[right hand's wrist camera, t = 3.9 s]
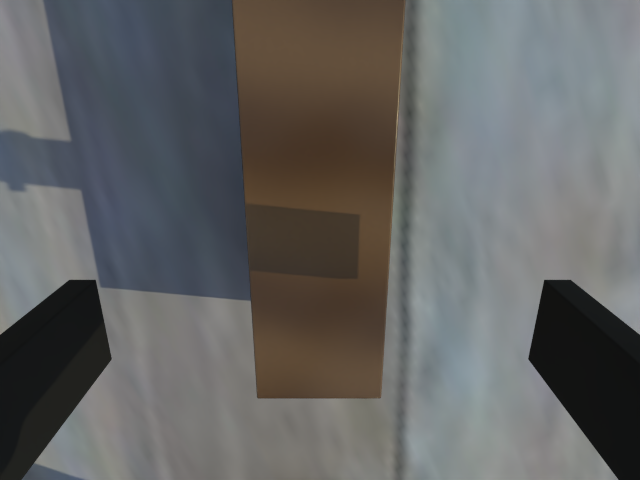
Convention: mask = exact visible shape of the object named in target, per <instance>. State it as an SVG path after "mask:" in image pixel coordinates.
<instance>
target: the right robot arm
mask: <svg viewBox="0 0 640 480" xmlns="http://www.w3.org/2000/svg"><path fill="white" fill-rule="evenodd" d="M111 359H112V358H111V353H110V348H109V343H108V339H107V334H106V329H105V324H104V319H103V314H102V309H101V304H100V299H99V294H98V289H97V284H96V280H69V281H68V282H66V283H65V284H64V285H62V286H61V287H60V288H59V289H57V290H56V291H55V292H54V293H52V294H51V295H50V296H49V297H47V298H46V299H45V300H44V301H42V302H41V303H40V304H39V305H37V306H36V307H35V308H33V309H32V310H31V311H30V312H28V313H27V314H26V315H25V316H23V317H22V318H21V319H20V320H18V321H17V322H16V323H15V324H13V325H12V326H11V327H10V328H8V329H7V330H6V331H5V332H3V333H2V334H1V335H0V480H22V478H23V477H24V476H25V474H26V473H27V471H28V470H29V469H30V467H31V466H32V465H33V463H34V462H35V461H36V459H37V458H38V457H39V455H40V454H41V453H42V451H43V450H44V449H45V447H46V446H47V445H48V443H49V442H50V441H51V439H52V438H53V437H54V435H55V434H56V433H57V431H58V430H59V429H60V427H61V426H62V425H63V423H64V422H65V421H66V419H67V418H68V417H69V415H70V414H71V413H72V411H73V410H74V409H75V407H76V406H77V405H78V403H79V402H80V401H81V399H82V398H83V397H84V395H85V394H86V393H87V391H88V390H89V389H90V387H91V386H92V385H93V383H94V382H95V381H96V379H97V378H98V377H99V375H100V374H101V373H102V371H103V370H104V369H105V367H106V366H107V365H108V363H109V362H110V361H111ZM528 359H529V361H530V362H531V363H532V365H533V366H534V367H535V369H536V370H537V371H538V373H539V374H540V375H541V377H542V378H543V379H544V381H545V382H546V383H547V385H548V386H549V387H550V389H551V390H552V391H553V393H554V394H555V395H556V397H557V398H558V399H559V401H560V402H561V403H562V405H563V406H564V407H565V409H566V410H567V411H568V413H569V414H570V415H571V417H572V418H573V419H574V421H575V422H576V423H577V425H578V426H579V427H580V429H581V430H582V431H583V433H584V434H585V435H586V437H587V438H588V439H589V441H590V442H591V443H592V445H593V446H594V447H595V449H596V450H597V451H598V453H599V454H600V455H601V457H602V458H603V459H604V461H605V462H606V463H607V465H608V466H609V467H610V469H611V470H612V471H613V473H614V474H615V476H616V477H617V478H618V480H640V335H639V334H638V333H637V332H635V331H634V330H633V329H632V328H630V327H629V326H628V325H627V324H625V323H624V322H623V321H622V320H620V319H619V318H618V317H617V316H615V315H614V314H613V313H612V312H610V311H609V310H608V309H607V308H605V307H604V306H603V305H601V304H600V303H599V302H598V301H596V300H595V299H594V298H593V297H591V296H590V295H589V294H588V293H586V292H585V291H584V290H583V289H581V288H580V287H579V286H578V285H576V284H575V283H574V282H572V281H571V280H544V284H543V289H542V294H541V299H540V304H539V309H538V314H537V319H536V324H535V329H534V334H533V339H532V343H531V348H530V353H529V358H528Z"/></svg>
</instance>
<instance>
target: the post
mask: <svg viewBox="0 0 640 480" xmlns="http://www.w3.org/2000/svg"><path fill="white" fill-rule="evenodd" d="M405 1H406V0H232V10H233V26H234V41H235V57H236V73H237V89H238V104H239V120H240V136H241V151H242V167H243V183H244V199H245V214H246V230H247V246H248V261H249V277H250V293H251V309H252V324H253V340H254V356H255V372H256V387H257V398H381V390H382V373H383V357H384V341H385V325H386V309H387V292H388V276H389V260H390V244H391V228H392V211H393V195H394V179H395V163H396V147H397V130H398V114H399V98H400V82H401V66H402V49H403V33H404V17H405Z"/></svg>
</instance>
